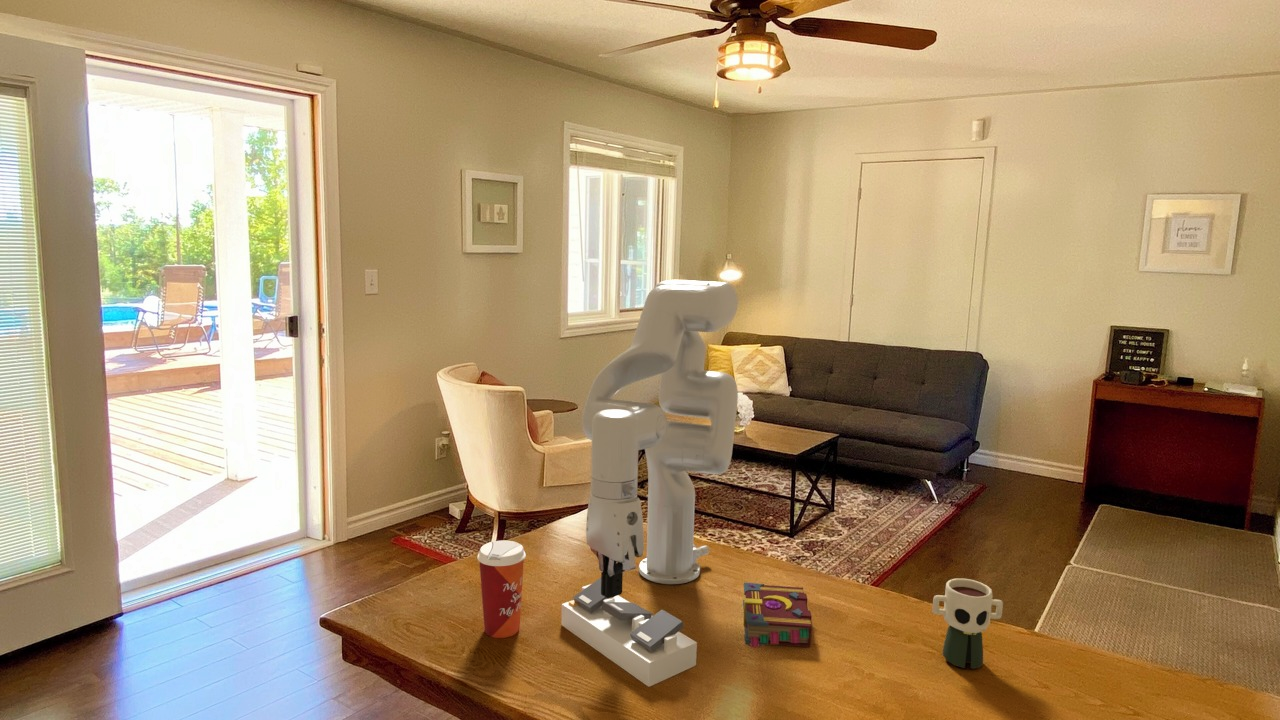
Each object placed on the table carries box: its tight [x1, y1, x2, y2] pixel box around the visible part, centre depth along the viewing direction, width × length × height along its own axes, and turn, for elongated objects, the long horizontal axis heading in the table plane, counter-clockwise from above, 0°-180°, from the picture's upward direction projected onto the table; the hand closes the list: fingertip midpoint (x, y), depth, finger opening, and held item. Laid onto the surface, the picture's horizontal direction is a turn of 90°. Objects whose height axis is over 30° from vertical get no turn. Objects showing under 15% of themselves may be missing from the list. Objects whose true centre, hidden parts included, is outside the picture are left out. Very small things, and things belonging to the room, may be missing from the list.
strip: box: [560, 583, 698, 688], centre depth 133 cm, size 10×27×6 cm, turn 40°
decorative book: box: [742, 582, 813, 648], centre depth 139 cm, size 11×16×5 cm
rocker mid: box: [601, 601, 653, 620], centre depth 131 cm, size 7×5×2 cm
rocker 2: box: [630, 609, 685, 653], centre depth 125 cm, size 7×5×2 cm
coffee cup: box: [476, 539, 527, 639], centre depth 135 cm, size 8×8×15 cm
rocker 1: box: [572, 577, 615, 613], centre depth 137 cm, size 7×5×2 cm
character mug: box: [931, 578, 1004, 669], centre depth 128 cm, size 11×7×13 cm, turn 83°
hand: (611, 594), depth 128 cm, fingers closed
